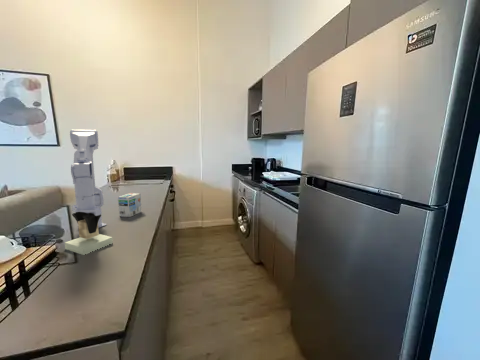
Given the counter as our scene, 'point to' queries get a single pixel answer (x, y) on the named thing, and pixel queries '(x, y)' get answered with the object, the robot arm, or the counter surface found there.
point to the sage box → (88, 244)
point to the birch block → (86, 230)
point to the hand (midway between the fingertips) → (88, 231)
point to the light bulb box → (129, 204)
